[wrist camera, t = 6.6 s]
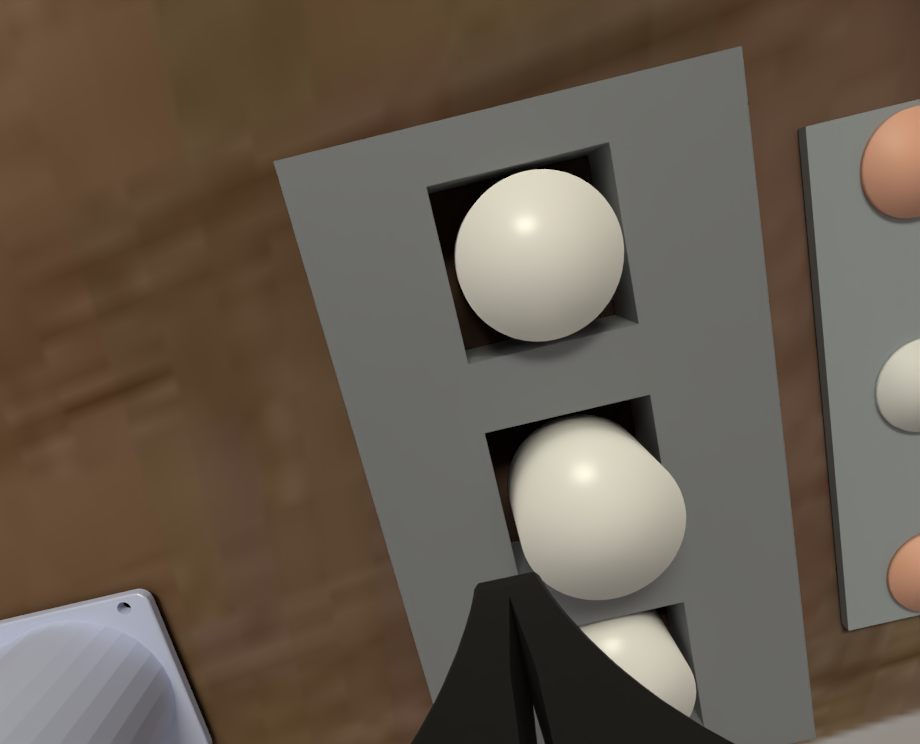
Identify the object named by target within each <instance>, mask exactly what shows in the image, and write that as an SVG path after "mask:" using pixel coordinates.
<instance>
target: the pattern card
mask: <svg viewBox="0 0 920 744" xmlns="http://www.w3.org/2000/svg"><path fill="white" fill-rule="evenodd" d="M798 134H799V145H800V156H801V168H802V179H803V190H804V202H805V213H806V224H807V235H808V247H809V258H810V269H811V281H812V292H813V303H814V315H815V326H816V337H817V349H818V360H819V371H820V383H821V394H822V405H823V417H824V428H825V439H826V451H827V462H828V473H829V485H830V496H831V507H832V519H833V530H834V541H835V552H836V564H837V575H838V586H839V598H840V609H841V620H842V625H843V626H844V627H845V628H846V629H847V630H848V631H850V630H854V629H859V628H863V627H868V626H872V625H877V624H881V623H886V622H890V621H895V620H899V619H904V618H908V617H913V616H917V615H920V99H918V100H914V101H910V102H906V103H902V104H897V105H893V106H889V107H885V108H881V109H877V110H873V111H869V112H865V113H860V114H856V115H852V116H848V117H844V118H840V119H836V120H832V121H827V122H823V123H819V124H815V125H811V126H807V127H803V128H800V129H798Z"/></svg>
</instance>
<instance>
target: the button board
mask: <svg viewBox="0 0 920 744" xmlns="http://www.w3.org/2000/svg"><path fill="white" fill-rule="evenodd" d="M587 155H588V159H589V165H590V171H591V177H592V183H593V187H594V188H595V189H596V190H598V191H599V193H600V194H601V195H602V196H603V197H604V198H605V199H606V200H607V202H608V203H609V205H610V206H611V207H612V209H613V211H614V213H615V215H616V217H617V219H618V222H619V225H620V227H621V232H622V236H623V243H624V263H623V269H622V274H621V277H620V281H619V284H618V286H617V288H616V291H615V293H614V295H613V296H612V299H613V305H614V311H615V315H611V316H607V317H603V318H599V319H594V320H593V321H592V322H590V323H589V324H588V325H587V326H585V327H584V328H582V329H580V330H579V331H577V332H575V333H573V334H571V335H568V336H566V337H563V338H559V339H556V340H550V341H538V342H534V341H524V340H520V339H515V338H514V339H510V340H506V341H502V342H497V343H493V344H489V345H485V346H480V347H476V348H472V349H468V350H465V347H464V343H463V338H462V334H461V330H460V326H459V322H458V317H457V313H456V309H455V305H454V301H453V296H452V292H451V288H450V284H449V279H448V275H447V271H446V267H445V263H444V258H443V254H442V250H441V246H440V241H439V237H438V233H437V229H436V225H435V220H434V216H433V212H432V208H431V204H430V199H429V195H428V194H431V193H435V192H439V191H443V190H447V189H451V188H455V187H460V186H464V185H468V184H472V183H476V182H480V181H484V180H488V179H492V178H496V177H501V176H505V175H509V174H513V173H517V172H521V171H525V170H529V169H533V168H537V167H542V166H546V165H550V164H554V163H558V162H562V161H566V160H570V159H574V158H579V157H583V156H587ZM273 162H274V165H275V168H276V172H277V175H278V179H279V182H280V185H281V189H282V192H283V195H284V199H285V202H286V206H287V209H288V212H289V216H290V219H291V223H292V226H293V229H294V233H295V236H296V240H297V243H298V246H299V250H300V253H301V257H302V260H303V263H304V267H305V270H306V274H307V277H308V280H309V284H310V287H311V291H312V294H313V297H314V301H315V304H316V308H317V311H318V314H319V318H320V321H321V324H322V328H323V331H324V335H325V338H326V341H327V345H328V348H329V352H330V355H331V358H332V362H333V365H334V369H335V372H336V375H337V379H338V382H339V386H340V389H341V392H342V396H343V399H344V403H345V406H346V409H347V413H348V416H349V420H350V423H351V426H352V430H353V433H354V437H355V440H356V443H357V447H358V450H359V453H360V457H361V460H362V464H363V467H364V470H365V474H366V477H367V481H368V484H369V487H370V491H371V494H372V498H373V501H374V504H375V508H376V511H377V515H378V518H379V521H380V525H381V528H382V532H383V535H384V538H385V542H386V545H387V549H388V552H389V555H390V559H391V562H392V565H393V569H394V572H395V576H396V579H397V582H398V586H399V589H400V593H401V596H402V599H403V603H404V606H405V610H406V613H407V616H408V620H409V623H410V627H411V630H412V633H413V637H414V640H415V644H416V647H417V650H418V654H419V657H420V661H421V664H422V667H423V671H424V674H425V678H426V681H427V684H428V688H429V691H430V694H431V698H432V701H433V704H434V702H435V700H436V698H437V696H438V694H439V692H440V690H441V688H442V686H443V683H444V681H445V679H446V676H447V674H448V672H449V669H450V667H451V665H452V662H453V660H454V658H455V655H456V652H457V650H458V647H459V644H460V641H461V638H462V635H463V632H464V629H465V626H466V623H467V620H468V616H469V613H470V609H471V605H472V600H473V595H474V589H475V587H476V586H477V584H478V583H482V582H487V581H491V580H496V579H501V578H506V577H510V576H515V575H520V574H525V573H529V572H534V571H533V569H532V568H531V566H530V565H529V563H528V561H527V559H526V557H525V555H524V552H523V549H522V546H521V542H520V540H518V541H514V542H511V541H510V537H509V533H508V528H507V524H506V520H505V516H504V511H503V507H502V503H501V499H500V495H499V490H498V486H497V482H496V478H495V473H494V469H493V465H492V461H491V457H490V452H489V448H488V444H487V440H486V435H485V433H488V432H492V431H496V430H501V429H505V428H509V427H513V426H518V425H522V424H526V423H531V422H535V421H539V420H543V419H548V418H552V417H556V416H561V415H565V414H569V413H573V412H578V411H582V410H586V409H590V408H595V407H599V406H603V405H608V404H612V403H616V402H620V401H625V400H629V399H630V404H631V410H632V416H633V422H634V428H635V434H636V439H637V441H638V442H639V443H640V444H641V445H642V446H643V447H644V448H645V449H646V450H647V451H648V452H649V453H650V454H651V455H652V456H653V457H654V458H655V459H656V460H657V461H658V462H659V463H660V464H661V465H662V466H663V467H664V468H665V469H666V470H667V471H668V472H669V473H670V475H671V476H672V477H673V478H674V480H675V481H676V483H677V485H678V487H679V488H680V491H681V493H682V496H683V499H684V504H685V509H686V528H685V533H684V537H683V540H682V543H681V546H680V548H679V550H678V552H677V554H676V556H675V558H674V559H673V561H672V562H671V564H670V565H669V566H668V567H667V568H666V570H665V571H664V572H663V573H662V574H661V575H660V576H659V577H657V578H656V579H655V580H654V581H652V582H651V583H650V584H648V585H647V586H645V587H643V588H642V589H640V590H638V591H636V592H633V593H631V594H629V595H626V596H622V597H619V598H614V599H608V600H585V599H580V598H575V597H572V596H568V595H565V594H563V593H561V592H559V591H557V590H555V589H553V588H552V587H550V586H549V585H547V584H546V583H545V582H544V581H543V580H542V581H543V582H544V584H545V586H546V587H547V589H548V590H549V592H550V593H551V594H552V596H553V597H554V598H555V600H556V601H557V602H558V603H559V605H560V606H561V607H562V608H563V610H564V611H565V612H566V613H567V614H568V616H569V617H570V618H571V619H572V620H573V621H574V622H575V623H576V624H577V626H579V625H584V624H588V623H593V622H597V621H602V620H606V619H611V618H615V617H619V616H624V615H628V614H633V613H637V612H642V611H646V610H650V609H655V608H659V607H664V606H665V609H666V615H667V621H668V626H669V632H670V635H671V637H672V638H673V640H674V642H675V643H676V645H677V647H678V648H679V650H680V652H681V654H682V655H683V657H684V659H685V660H686V662H687V664H688V666H689V667H690V669H691V671H692V673H693V676H694V679H695V683H696V700H695V704H694V708H693V711H692V713H691V715H690V717H689V718H691V719H693V720H694V721H696V722H697V723H699V724H700V725H702V726H704V727H705V728H707V729H709V730H711V731H712V732H714V733H716V734H718V735H720V736H721V737H723V738H725V739H727V740H729V741H730V742H732V743H734V744H792V743H796V742H801V741H805V740H810V739H814V738H816V737H815V728H814V719H813V709H812V700H811V691H810V681H809V672H808V662H807V653H806V644H805V634H804V625H803V616H802V606H801V597H800V587H799V578H798V569H797V559H796V550H795V541H794V531H793V522H792V512H791V503H790V494H789V484H788V475H787V466H786V456H785V447H784V437H783V428H782V419H781V409H780V400H779V391H778V381H777V372H776V362H775V353H774V344H773V334H772V325H771V316H770V306H769V297H768V287H767V278H766V269H765V259H764V250H763V241H762V231H761V222H760V212H759V203H758V194H757V184H756V175H755V166H754V156H753V147H752V137H751V128H750V119H749V109H748V100H747V91H746V81H745V72H744V62H743V53H742V46H740V47H736V48H732V49H728V50H724V51H720V52H715V53H711V54H707V55H703V56H699V57H695V58H691V59H687V60H683V61H679V62H675V63H671V64H667V65H663V66H659V67H655V68H651V69H647V70H642V71H638V72H634V73H630V74H626V75H622V76H618V77H614V78H610V79H606V80H602V81H598V82H594V83H590V84H586V85H582V86H578V87H573V88H569V89H565V90H561V91H557V92H553V93H549V94H545V95H541V96H537V97H533V98H529V99H525V100H521V101H517V102H513V103H509V104H505V105H500V106H496V107H492V108H488V109H484V110H480V111H476V112H472V113H468V114H464V115H460V116H456V117H452V118H448V119H444V120H440V121H436V122H431V123H427V124H423V125H419V126H415V127H411V128H407V129H403V130H399V131H395V132H391V133H387V134H383V135H379V136H375V137H371V138H367V139H363V140H358V141H354V142H350V143H346V144H342V145H338V146H334V147H330V148H326V149H322V150H318V151H314V152H310V153H306V154H302V155H298V156H294V157H289V158H285V159H281V160H277V161H273ZM533 707H534V706H533ZM534 717H535V726H536V735H537V744H545V743H544V739H543V736H542V733H541V729H540V726H539V723H538V719H537V716H536V713H535V709H534Z"/></svg>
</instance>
